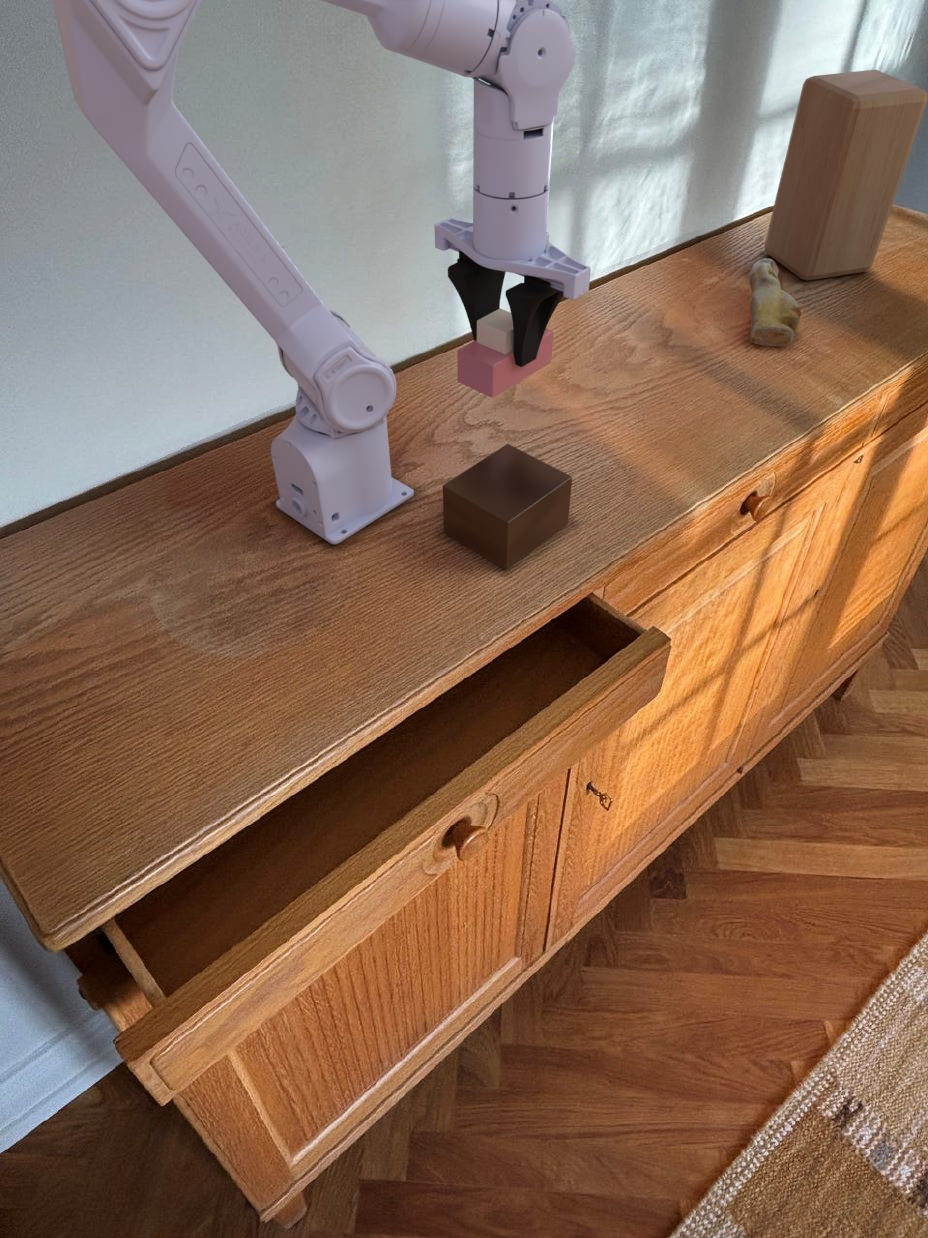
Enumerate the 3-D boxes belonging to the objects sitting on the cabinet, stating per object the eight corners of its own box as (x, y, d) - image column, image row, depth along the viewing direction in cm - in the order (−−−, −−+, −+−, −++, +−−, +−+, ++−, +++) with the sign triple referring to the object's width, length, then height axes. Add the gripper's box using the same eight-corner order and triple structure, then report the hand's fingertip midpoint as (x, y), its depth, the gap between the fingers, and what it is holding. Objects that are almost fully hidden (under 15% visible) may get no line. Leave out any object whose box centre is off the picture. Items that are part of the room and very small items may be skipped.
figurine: (813, 331, 92) (803, 253, 101) (772, 309, 91) (764, 232, 100) (781, 366, 96) (773, 288, 105) (740, 346, 95) (736, 268, 104)
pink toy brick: (492, 398, 73) (493, 343, 69) (457, 381, 75) (456, 327, 71) (551, 362, 77) (555, 308, 73) (517, 347, 79) (519, 294, 75)
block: (759, 251, 112) (801, 74, 98) (826, 241, 114) (877, 66, 100) (802, 284, 105) (854, 98, 91) (873, 273, 107) (935, 89, 93)
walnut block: (506, 571, 70) (507, 522, 66) (443, 533, 73) (442, 485, 69) (568, 524, 74) (572, 476, 70) (506, 490, 77) (507, 443, 74)
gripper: (622, 194, 63) (601, 363, 73) (475, 150, 70) (474, 310, 80) (562, 222, 60) (549, 396, 69) (413, 173, 67) (420, 337, 76)
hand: (505, 352), depth 75 cm, fingers closed on pink toy brick, 4 cm apart
